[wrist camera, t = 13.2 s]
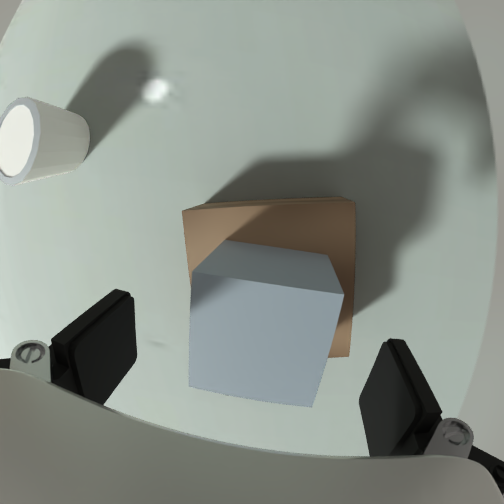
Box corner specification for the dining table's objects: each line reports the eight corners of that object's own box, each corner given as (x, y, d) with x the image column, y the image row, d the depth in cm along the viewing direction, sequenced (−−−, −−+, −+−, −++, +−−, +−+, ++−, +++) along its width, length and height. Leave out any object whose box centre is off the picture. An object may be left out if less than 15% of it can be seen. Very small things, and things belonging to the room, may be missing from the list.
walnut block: (205, 203, 22) (181, 210, 17) (341, 196, 21) (355, 202, 16) (218, 324, 25) (201, 356, 20) (339, 322, 23) (348, 356, 18)
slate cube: (224, 239, 17) (192, 271, 12) (327, 254, 17) (344, 294, 11) (216, 329, 19) (188, 386, 13) (308, 344, 18) (311, 407, 13)
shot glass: (98, 100, 21) (44, 86, 14) (94, 177, 22) (37, 182, 16) (47, 114, 22) (-5, 108, 15) (44, 182, 23) (-9, 189, 17)
